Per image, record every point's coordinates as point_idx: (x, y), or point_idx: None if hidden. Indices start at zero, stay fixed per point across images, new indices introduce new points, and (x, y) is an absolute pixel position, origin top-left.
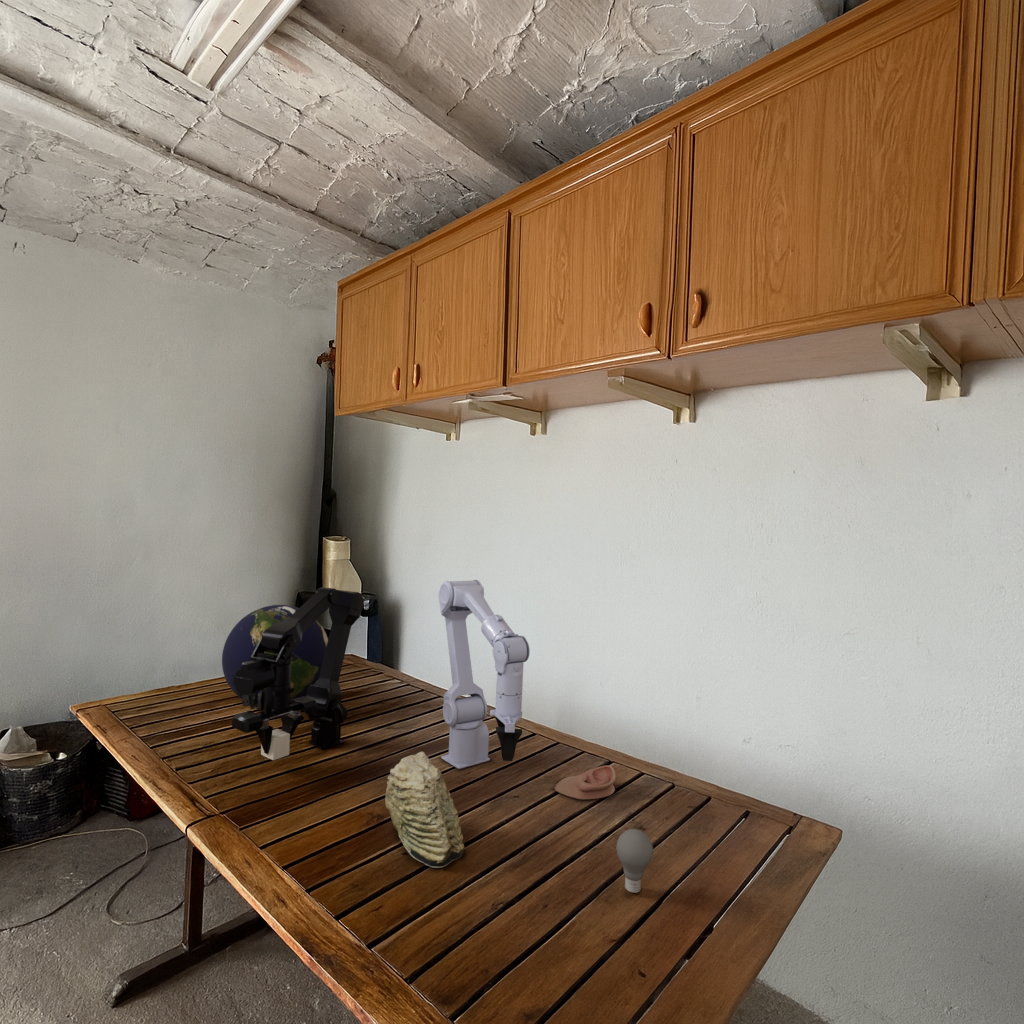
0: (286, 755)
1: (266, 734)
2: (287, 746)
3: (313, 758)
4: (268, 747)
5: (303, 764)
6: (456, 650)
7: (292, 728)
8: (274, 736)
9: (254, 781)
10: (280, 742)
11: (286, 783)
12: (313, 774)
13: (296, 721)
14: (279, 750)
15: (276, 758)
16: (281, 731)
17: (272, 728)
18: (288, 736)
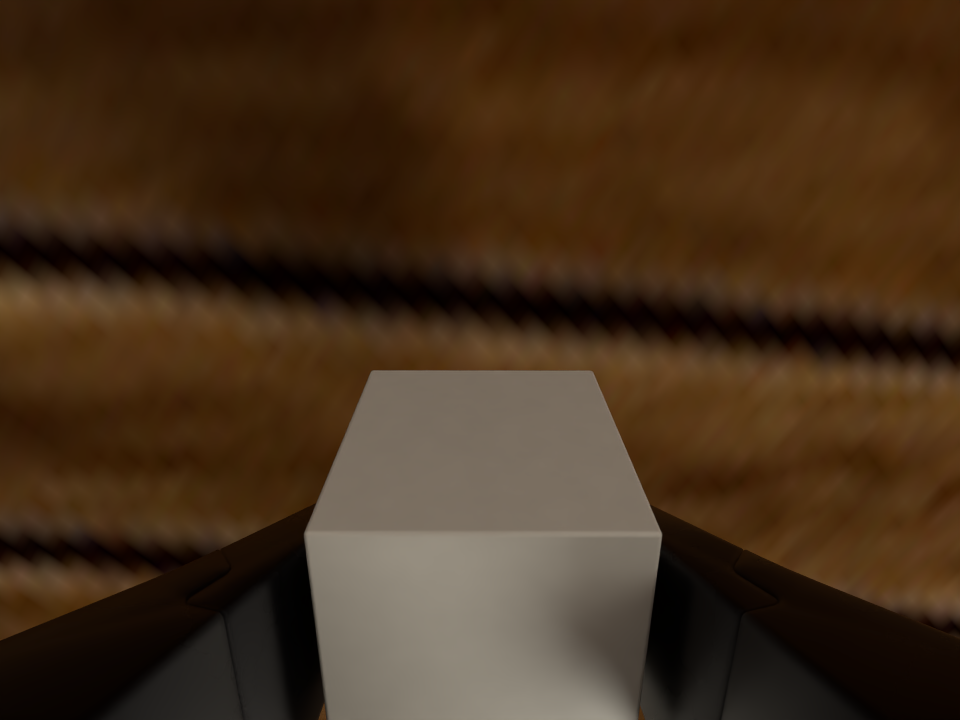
0: (410, 371)
1: (925, 637)
2: (385, 421)
3: (85, 365)
4: None
5: (223, 322)
6: None
7: (207, 607)
8: (576, 614)
9: (733, 337)
10: (507, 474)
11: (583, 68)
12: (263, 38)
13: (23, 708)
14: (514, 414)
15: (550, 372)
16: (357, 701)
17: (891, 712)
18: (344, 508)
